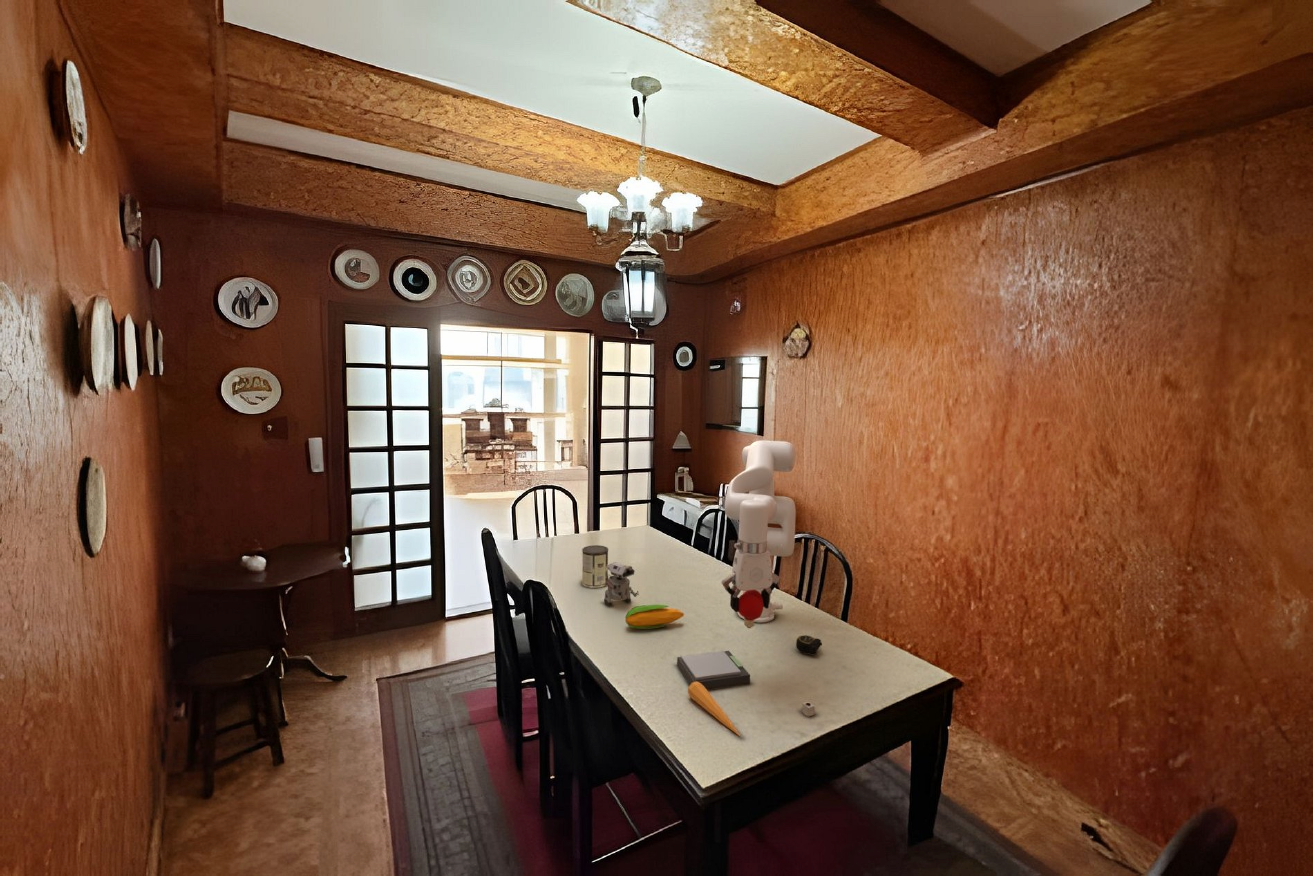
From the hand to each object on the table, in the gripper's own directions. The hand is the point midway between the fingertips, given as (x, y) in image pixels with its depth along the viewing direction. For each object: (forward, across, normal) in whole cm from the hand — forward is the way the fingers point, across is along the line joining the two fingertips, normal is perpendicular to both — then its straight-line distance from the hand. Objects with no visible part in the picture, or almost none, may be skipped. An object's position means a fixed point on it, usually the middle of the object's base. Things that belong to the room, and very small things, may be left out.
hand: (749, 608), depth 151 cm
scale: (+20, -8, +4) cm, 22 cm away
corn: (+20, -15, +37) cm, 45 cm away
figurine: (+20, -22, +57) cm, 65 cm away
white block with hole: (+20, +7, -19) cm, 29 cm away
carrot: (+20, -16, -14) cm, 29 cm away
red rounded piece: (+6, 0, 0) cm, 6 cm away
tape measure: (+20, +26, +8) cm, 34 cm away
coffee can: (+20, -26, +80) cm, 87 cm away
